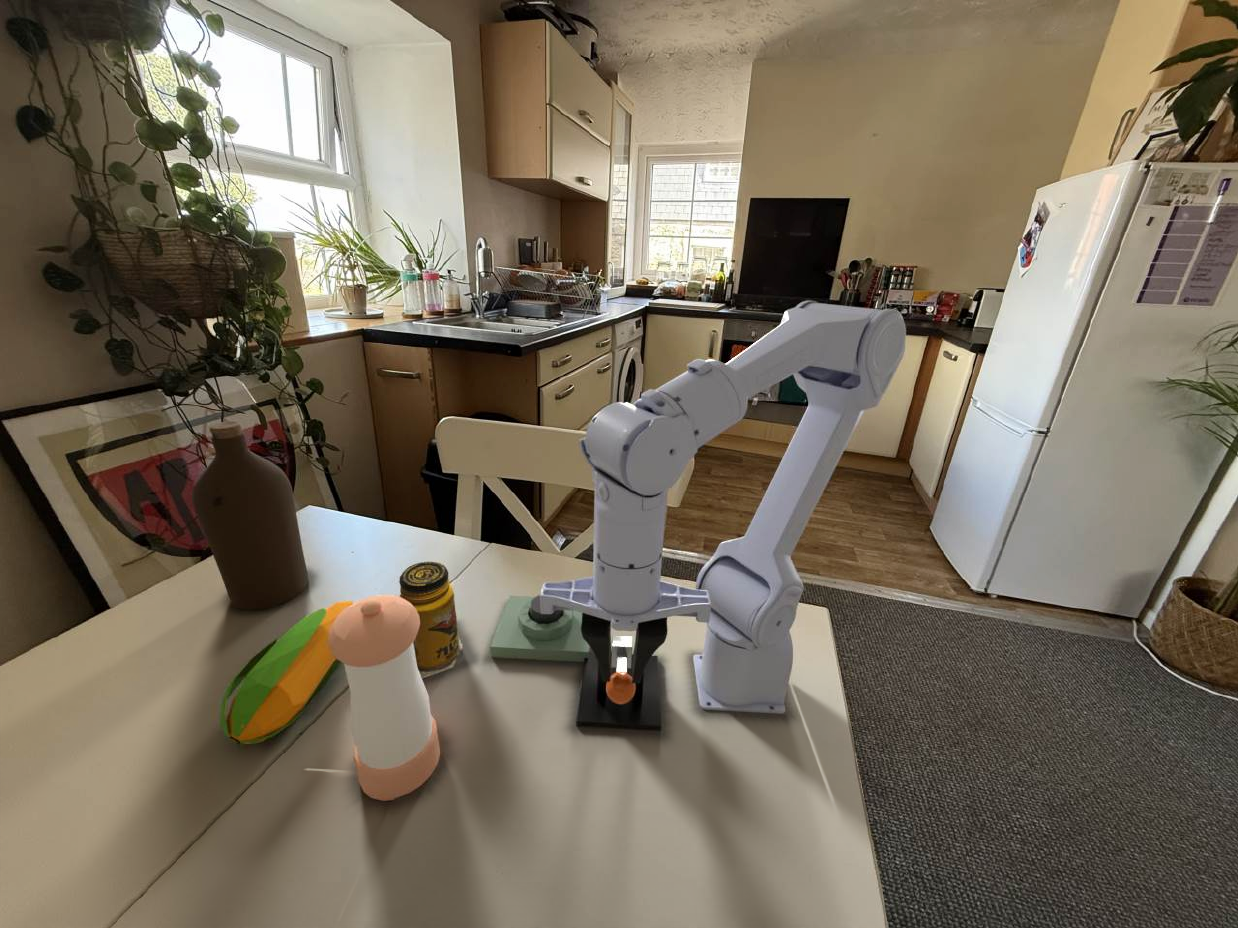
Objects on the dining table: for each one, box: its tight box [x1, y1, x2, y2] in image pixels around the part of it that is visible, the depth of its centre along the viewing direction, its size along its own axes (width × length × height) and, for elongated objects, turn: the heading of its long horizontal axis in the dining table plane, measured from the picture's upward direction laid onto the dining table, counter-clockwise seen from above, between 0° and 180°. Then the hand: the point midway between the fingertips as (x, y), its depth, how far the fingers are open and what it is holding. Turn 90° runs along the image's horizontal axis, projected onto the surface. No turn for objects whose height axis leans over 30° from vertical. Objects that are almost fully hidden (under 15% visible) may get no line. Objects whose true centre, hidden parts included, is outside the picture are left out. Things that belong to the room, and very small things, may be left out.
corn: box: [219, 600, 354, 746], centre depth 55 cm, size 7×8×20 cm
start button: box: [530, 594, 562, 624], centre depth 64 cm, size 4×4×2 cm
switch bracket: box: [575, 637, 662, 732], centre depth 56 cm, size 10×9×8 cm
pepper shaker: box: [328, 594, 441, 802], centre depth 44 cm, size 7×7×19 cm
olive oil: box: [191, 421, 309, 611], centre depth 67 cm, size 11×11×25 cm
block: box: [489, 595, 591, 663], centre depth 65 cm, size 12×10×4 cm
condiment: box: [398, 561, 464, 679], centre depth 59 cm, size 7×8×12 cm
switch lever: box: [606, 635, 636, 704], centre depth 51 cm, size 11×3×3 cm, turn 178°
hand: (621, 674), depth 46 cm, fingers closed
